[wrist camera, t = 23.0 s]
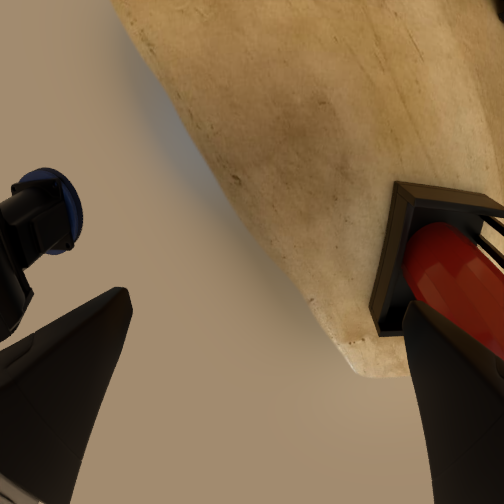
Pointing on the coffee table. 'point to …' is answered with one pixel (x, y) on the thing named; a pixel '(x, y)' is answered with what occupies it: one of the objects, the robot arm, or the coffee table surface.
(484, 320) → the cup
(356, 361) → the coffee table surface
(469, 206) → the rack
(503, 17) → the game controller
